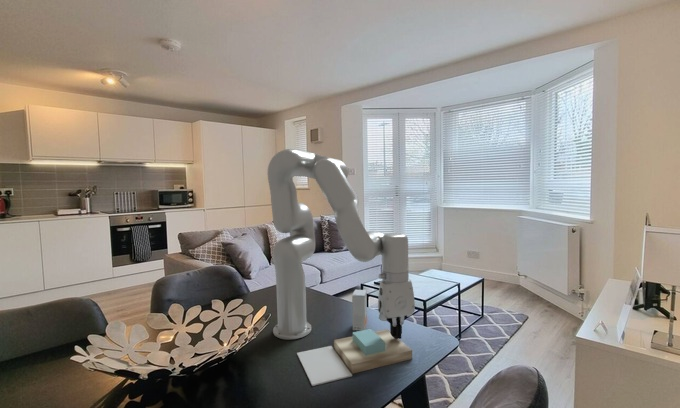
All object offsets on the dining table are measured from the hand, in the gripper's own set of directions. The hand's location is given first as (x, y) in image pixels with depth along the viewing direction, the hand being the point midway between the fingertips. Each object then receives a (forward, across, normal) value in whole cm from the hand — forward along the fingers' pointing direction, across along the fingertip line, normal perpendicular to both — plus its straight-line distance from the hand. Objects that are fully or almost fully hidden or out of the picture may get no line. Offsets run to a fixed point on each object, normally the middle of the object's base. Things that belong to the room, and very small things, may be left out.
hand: (396, 336), depth 96 cm
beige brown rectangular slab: (+3, -8, 0) cm, 9 cm away
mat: (+3, -23, 0) cm, 23 cm away
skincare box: (+4, -4, +17) cm, 18 cm away
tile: (0, -9, 0) cm, 9 cm away
